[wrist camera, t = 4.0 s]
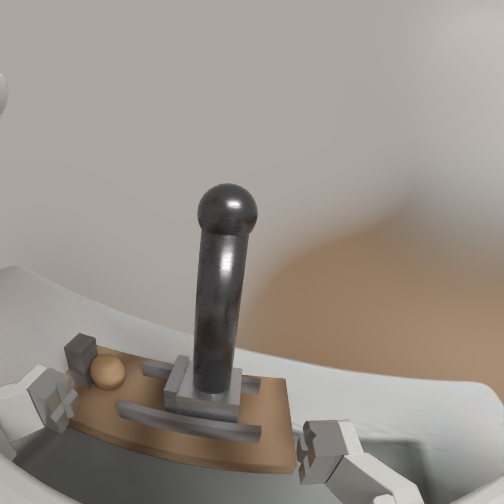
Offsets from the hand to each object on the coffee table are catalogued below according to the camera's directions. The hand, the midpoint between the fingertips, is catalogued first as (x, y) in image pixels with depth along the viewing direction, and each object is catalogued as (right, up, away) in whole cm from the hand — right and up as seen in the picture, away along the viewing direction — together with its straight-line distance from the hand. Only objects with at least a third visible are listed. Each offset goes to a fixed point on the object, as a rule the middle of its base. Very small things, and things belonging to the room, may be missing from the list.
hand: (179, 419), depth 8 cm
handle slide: (-2, -9, +15) cm, 17 cm away
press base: (-6, -10, +15) cm, 19 cm away
